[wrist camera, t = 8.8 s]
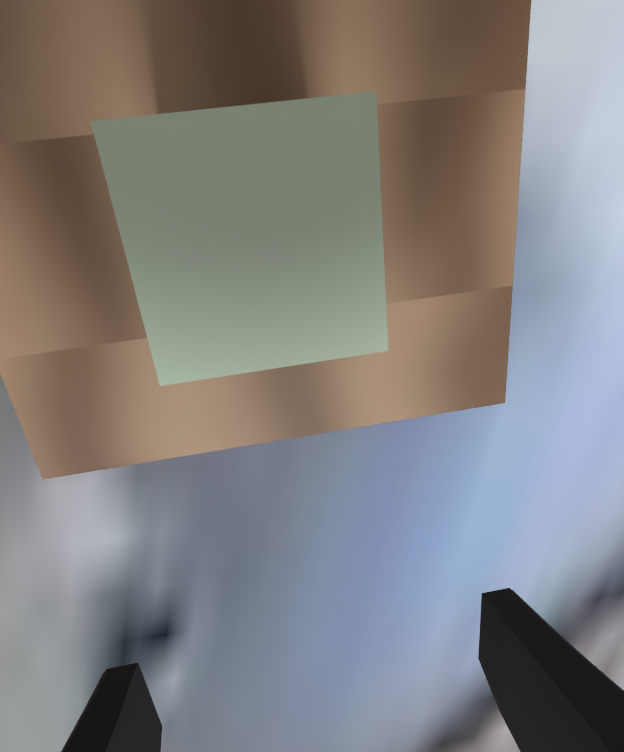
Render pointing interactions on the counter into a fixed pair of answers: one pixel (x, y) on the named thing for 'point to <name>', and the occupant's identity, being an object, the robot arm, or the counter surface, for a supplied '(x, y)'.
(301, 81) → the socket block
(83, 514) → the counter surface
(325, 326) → the peg
